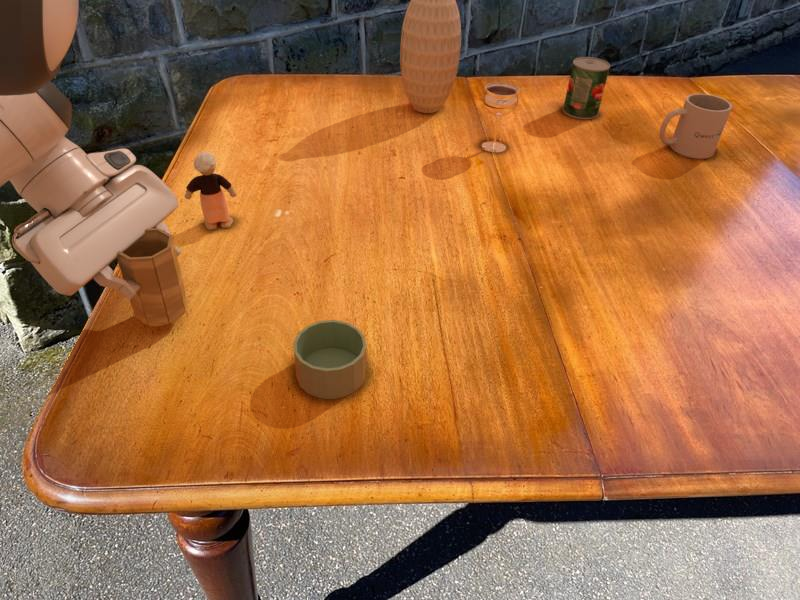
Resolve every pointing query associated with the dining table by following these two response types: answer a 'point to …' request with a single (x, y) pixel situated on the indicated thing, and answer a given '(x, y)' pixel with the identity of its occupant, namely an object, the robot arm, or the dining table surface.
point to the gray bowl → (330, 359)
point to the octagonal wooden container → (155, 278)
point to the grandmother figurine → (211, 191)
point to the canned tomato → (586, 87)
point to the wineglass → (499, 108)
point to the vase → (430, 52)
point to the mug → (698, 125)
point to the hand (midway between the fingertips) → (156, 275)
